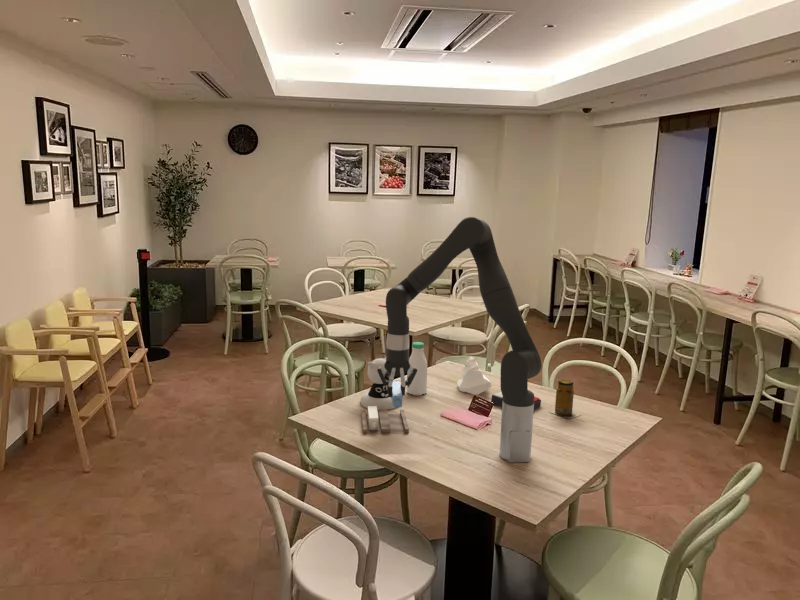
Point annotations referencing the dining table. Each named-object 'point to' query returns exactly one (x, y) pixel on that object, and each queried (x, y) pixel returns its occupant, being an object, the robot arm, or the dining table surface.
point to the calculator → (498, 400)
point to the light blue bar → (396, 394)
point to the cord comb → (386, 423)
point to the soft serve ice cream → (473, 378)
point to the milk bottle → (418, 370)
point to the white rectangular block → (373, 418)
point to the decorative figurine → (377, 388)
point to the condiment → (564, 399)
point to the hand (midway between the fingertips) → (396, 396)
